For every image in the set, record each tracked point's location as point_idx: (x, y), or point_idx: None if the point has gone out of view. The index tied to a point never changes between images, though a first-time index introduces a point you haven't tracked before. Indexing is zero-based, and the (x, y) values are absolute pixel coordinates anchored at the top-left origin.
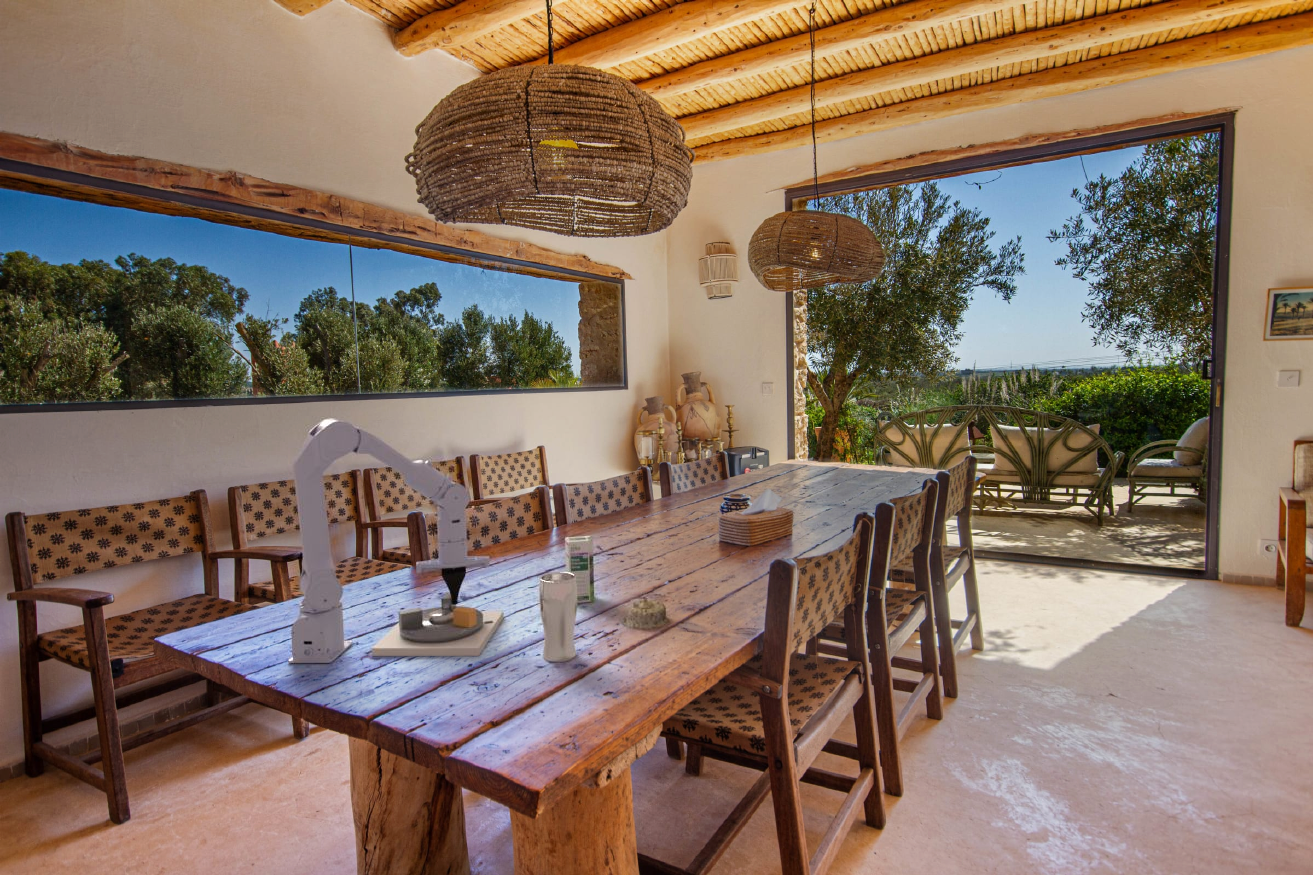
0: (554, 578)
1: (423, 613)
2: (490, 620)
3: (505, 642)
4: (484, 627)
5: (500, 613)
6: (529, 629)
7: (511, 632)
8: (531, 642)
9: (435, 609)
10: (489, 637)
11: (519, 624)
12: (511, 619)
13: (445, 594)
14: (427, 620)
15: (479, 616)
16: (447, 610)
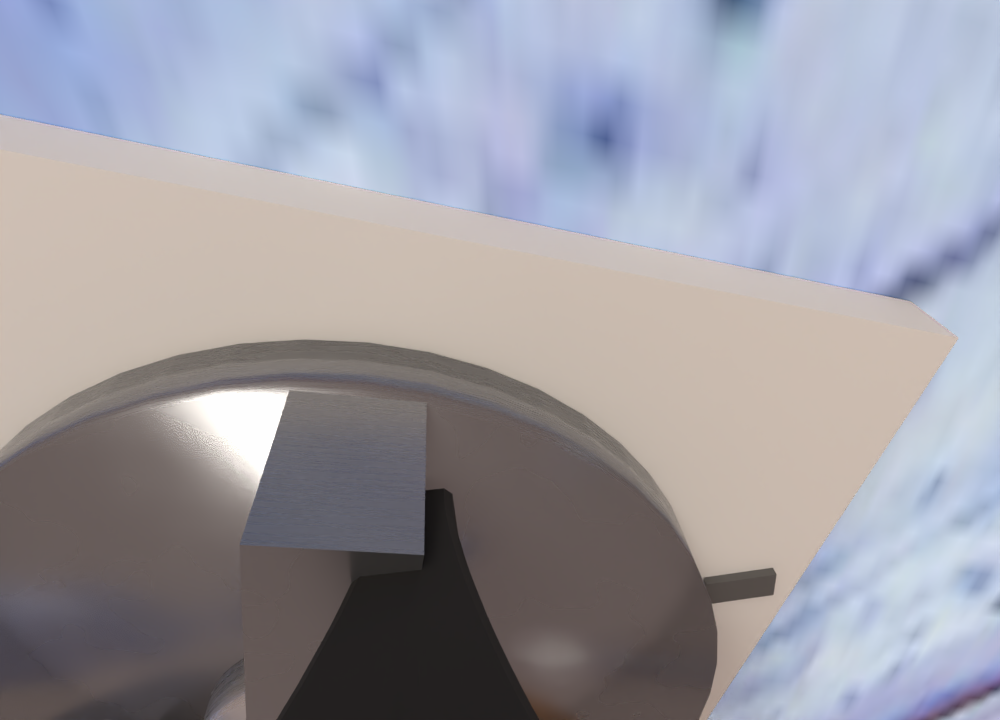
0: None
1: (62, 571)
2: (761, 545)
3: (774, 704)
4: None
5: (902, 403)
6: (994, 563)
7: (857, 591)
8: (913, 714)
9: (168, 474)
10: None
11: (972, 471)
12: (961, 353)
13: (263, 625)
14: (196, 716)
15: (680, 684)
16: None
